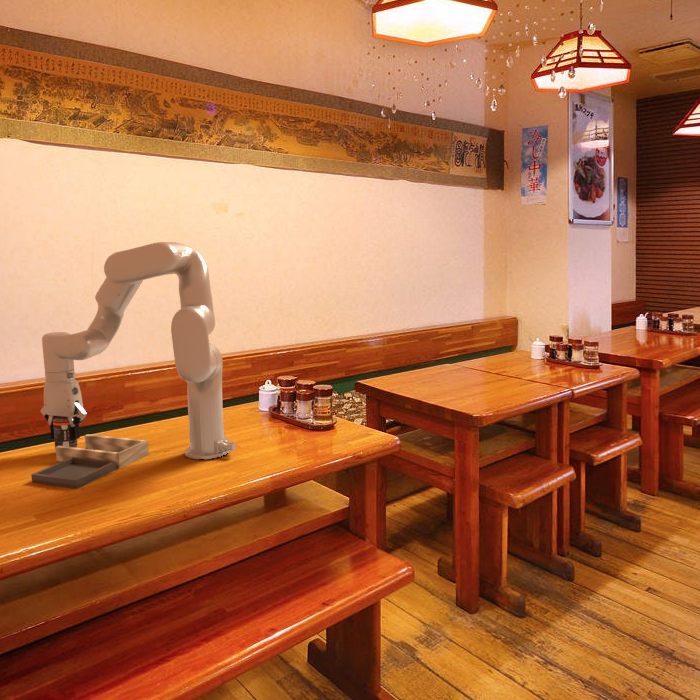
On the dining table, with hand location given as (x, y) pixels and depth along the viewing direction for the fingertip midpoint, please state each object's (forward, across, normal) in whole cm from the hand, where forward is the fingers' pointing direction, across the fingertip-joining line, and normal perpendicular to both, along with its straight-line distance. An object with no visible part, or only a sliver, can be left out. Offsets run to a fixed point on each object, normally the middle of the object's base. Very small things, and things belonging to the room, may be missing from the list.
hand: (65, 437), depth 176 cm
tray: (+5, -16, +14) cm, 22 cm away
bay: (+5, -13, 0) cm, 14 cm away
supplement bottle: (+3, 0, 0) cm, 3 cm away
